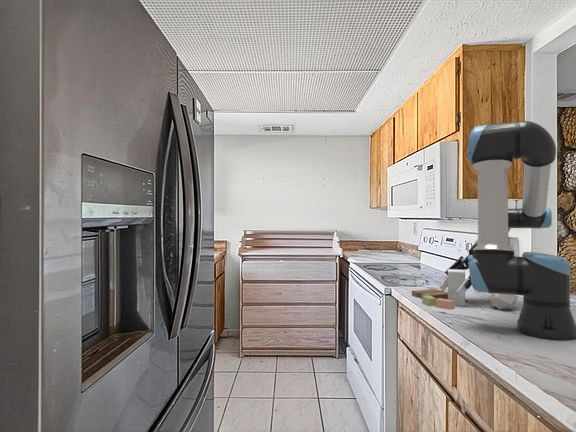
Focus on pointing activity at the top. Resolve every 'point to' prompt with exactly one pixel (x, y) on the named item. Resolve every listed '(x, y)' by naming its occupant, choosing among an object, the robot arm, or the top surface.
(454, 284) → the small box
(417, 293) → the walnut slab
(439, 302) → the terracotta brick
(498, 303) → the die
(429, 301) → the olive brick
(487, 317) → the top surface
